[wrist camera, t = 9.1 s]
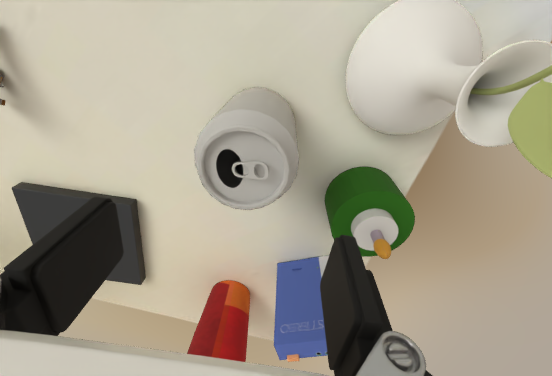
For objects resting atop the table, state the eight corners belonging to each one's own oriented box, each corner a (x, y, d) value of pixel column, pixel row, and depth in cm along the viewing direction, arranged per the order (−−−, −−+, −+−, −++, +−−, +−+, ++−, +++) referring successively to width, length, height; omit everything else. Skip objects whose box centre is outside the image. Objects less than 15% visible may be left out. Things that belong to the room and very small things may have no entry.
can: (218, 88, 27) (173, 119, 16) (294, 83, 26) (298, 112, 16) (229, 158, 30) (198, 220, 20) (296, 154, 30) (300, 217, 19)
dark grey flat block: (50, 264, 40) (33, 280, 37) (21, 182, 33) (-2, 194, 30) (145, 277, 40) (135, 294, 37) (136, 199, 33) (123, 212, 31)
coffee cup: (205, 309, 43) (170, 426, 30) (202, 272, 39) (159, 389, 26) (257, 313, 43) (244, 432, 30) (259, 277, 39) (245, 396, 26)
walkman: (282, 276, 39) (279, 364, 28) (277, 262, 38) (273, 349, 27) (336, 268, 38) (354, 356, 27) (333, 254, 36) (351, 340, 26)
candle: (333, 232, 35) (348, 297, 26) (317, 177, 31) (329, 232, 22) (398, 217, 33) (438, 280, 24) (390, 157, 29) (434, 207, 21)
